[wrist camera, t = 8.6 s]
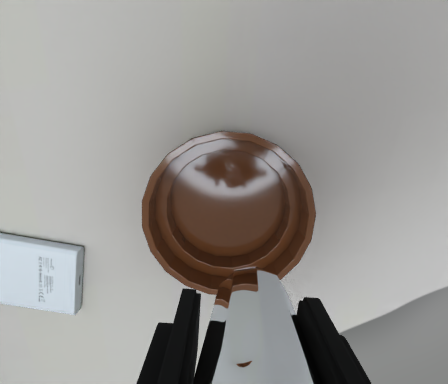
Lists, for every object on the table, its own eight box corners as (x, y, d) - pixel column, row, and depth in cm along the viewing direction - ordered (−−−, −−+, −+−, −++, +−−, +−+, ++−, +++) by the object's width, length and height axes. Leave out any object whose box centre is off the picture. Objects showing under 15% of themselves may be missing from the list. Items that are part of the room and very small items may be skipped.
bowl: (158, 125, 24) (141, 124, 19) (309, 137, 24) (329, 139, 19) (156, 261, 28) (142, 289, 23) (287, 271, 28) (300, 301, 23)
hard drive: (-30, 225, 27) (84, 245, 27) (-25, 290, 29) (81, 307, 29) (-46, 231, 25) (76, 252, 26) (-40, 299, 27) (73, 317, 28)
